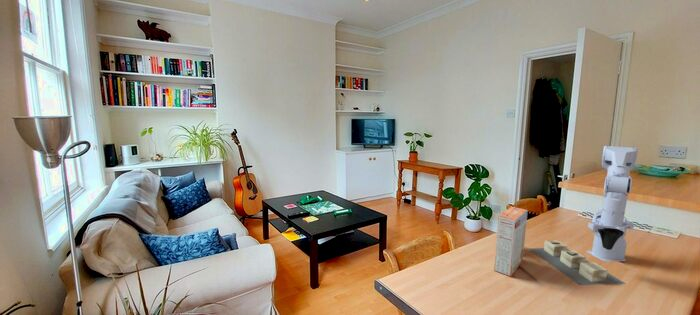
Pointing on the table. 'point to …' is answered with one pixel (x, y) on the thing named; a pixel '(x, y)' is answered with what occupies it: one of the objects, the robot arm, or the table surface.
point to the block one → (554, 247)
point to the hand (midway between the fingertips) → (607, 248)
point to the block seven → (572, 259)
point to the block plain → (593, 271)
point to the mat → (572, 269)
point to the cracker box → (510, 240)
